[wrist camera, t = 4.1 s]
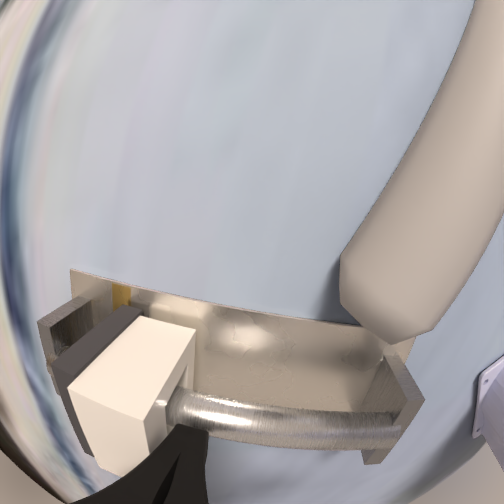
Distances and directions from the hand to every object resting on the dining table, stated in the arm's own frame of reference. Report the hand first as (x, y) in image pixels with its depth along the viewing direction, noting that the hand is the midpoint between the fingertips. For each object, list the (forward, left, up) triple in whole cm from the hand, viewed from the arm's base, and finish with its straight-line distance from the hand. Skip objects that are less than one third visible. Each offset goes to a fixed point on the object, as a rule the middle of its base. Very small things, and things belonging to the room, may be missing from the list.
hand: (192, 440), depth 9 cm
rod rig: (0, 0, -5) cm, 5 cm away
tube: (+7, -18, -6) cm, 21 cm away
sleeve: (+1, +2, -5) cm, 6 cm away
